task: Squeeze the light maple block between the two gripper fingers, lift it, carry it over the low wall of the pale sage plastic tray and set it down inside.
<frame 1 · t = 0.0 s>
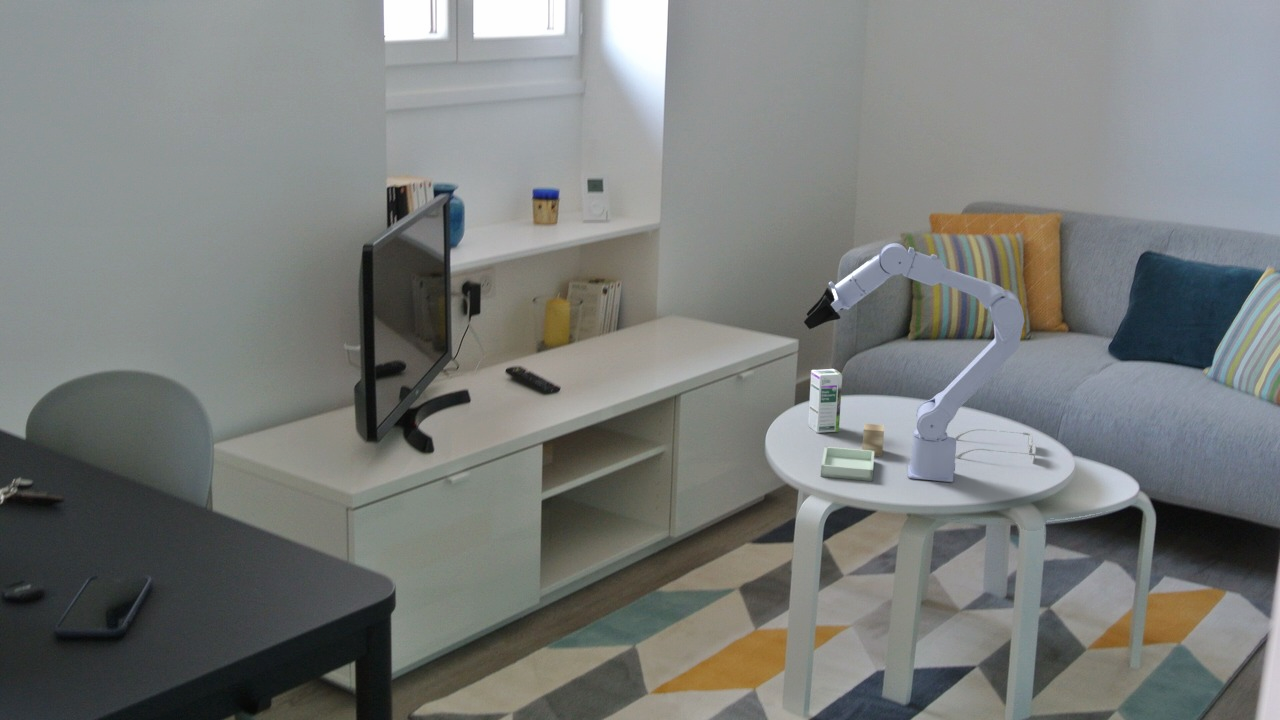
hand: (808, 321, 272), 32 cm above the table, tool tilted 50°, fingers open, 7 cm apart
eyeglasses: (991, 454, 292), on the table
maple block: (872, 452, 289), on the table
serving tray: (847, 468, 278), on the table
syrup box: (823, 430, 305), on the table
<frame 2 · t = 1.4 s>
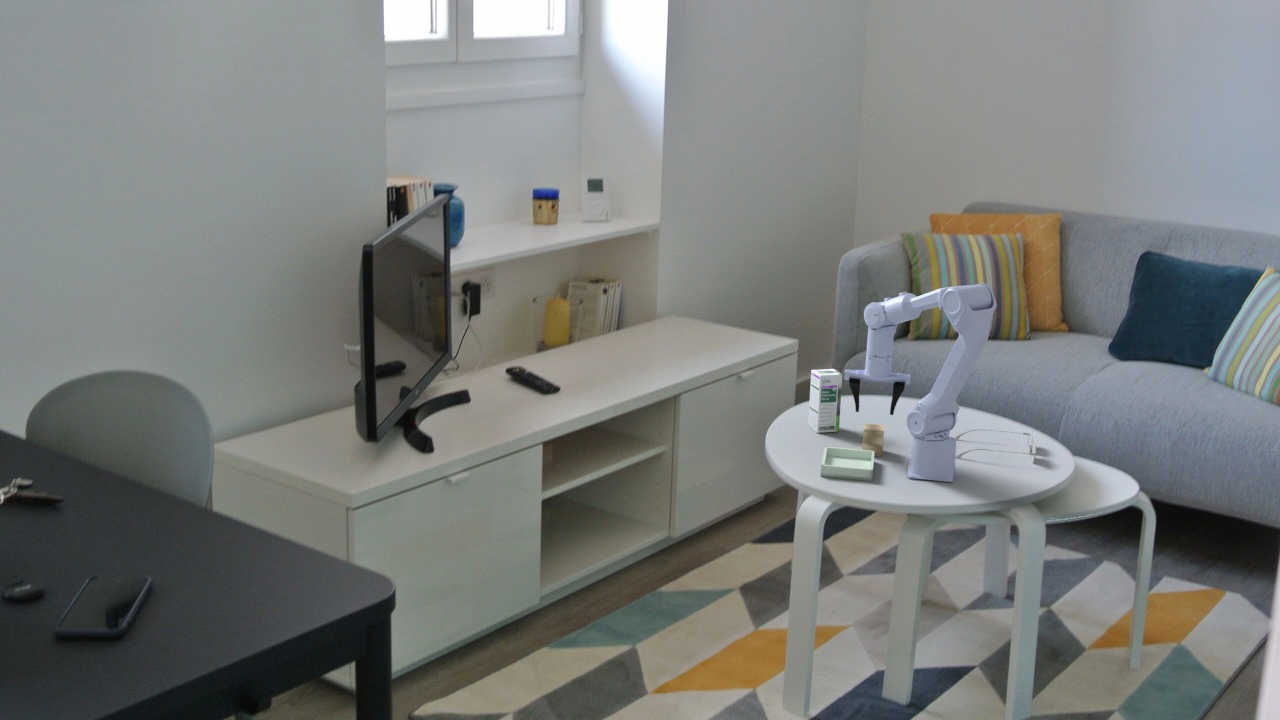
hand: (874, 412, 287), 10 cm above the table, tool pointing down, fingers open, 7 cm apart
nothing on the table moved.
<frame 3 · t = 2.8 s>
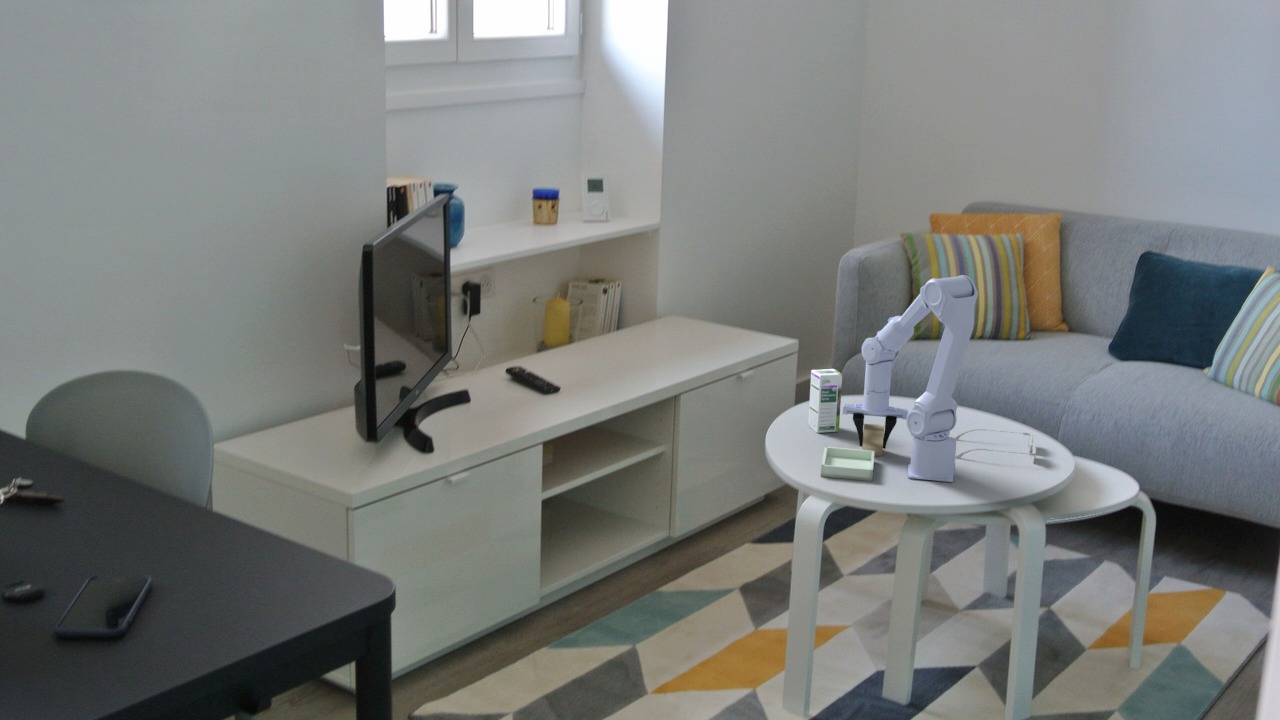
hand: (872, 446, 289), 1 cm above the table, tool pointing down, fingers closed on maple block, 4 cm apart
maple block: (872, 452, 289), on the table, touching gripper
everything else where it was.
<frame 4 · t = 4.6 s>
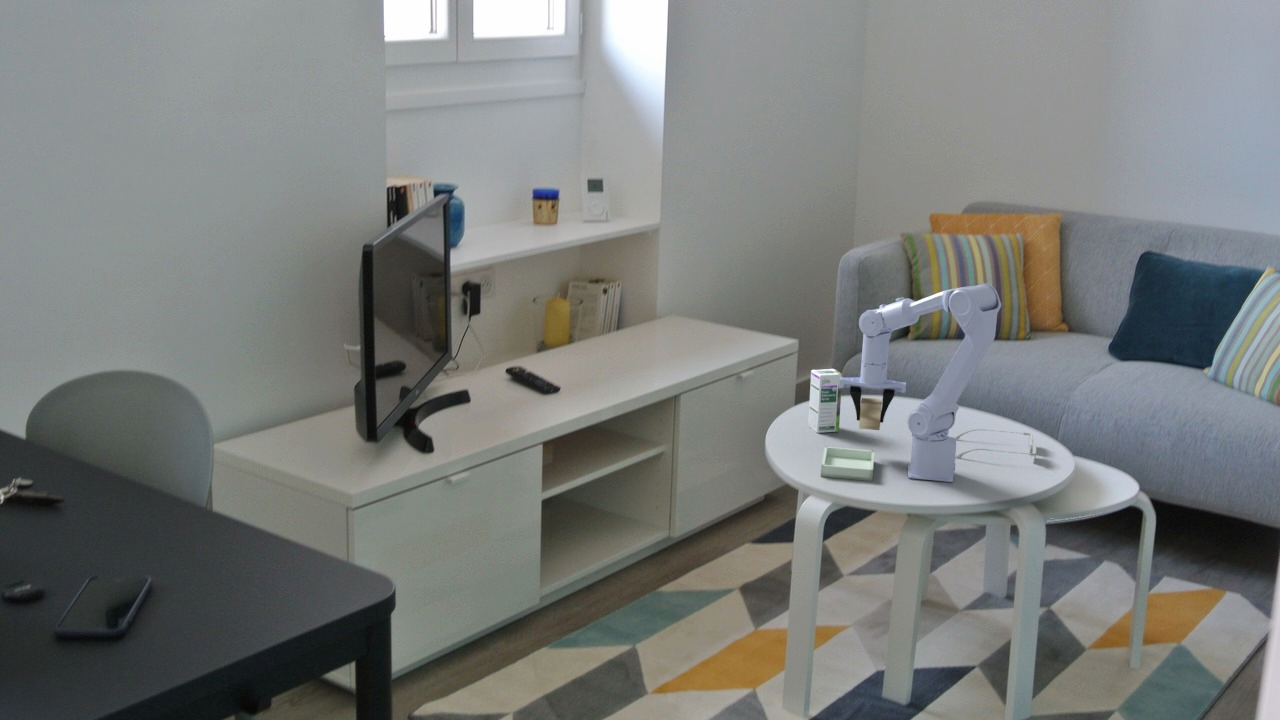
hand: (870, 420, 285), 8 cm above the table, tool pointing down, fingers closed on maple block, 4 cm apart
maple block: (869, 426, 285), point 7 cm above the table, touching gripper
everything else where it was.
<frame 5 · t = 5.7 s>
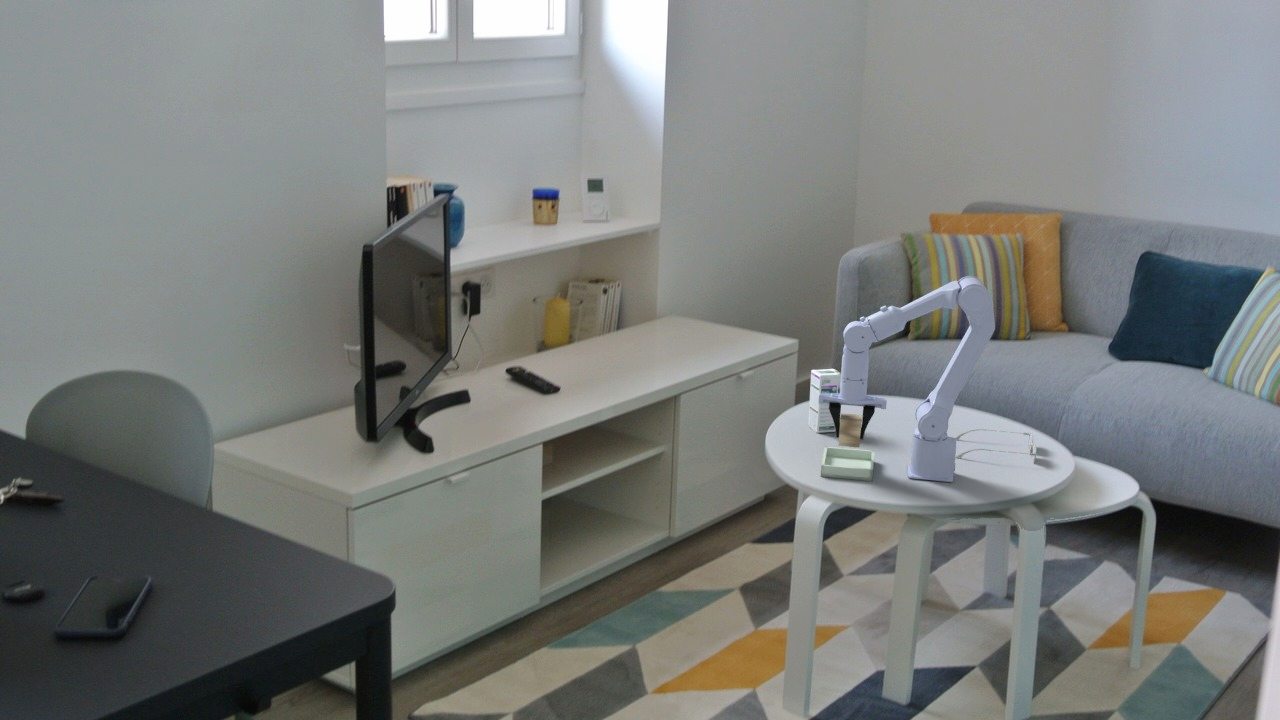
hand: (849, 437, 276), 7 cm above the table, tool pointing down, fingers closed on maple block, 4 cm apart
maple block: (849, 443, 276), point 6 cm above the table, touching gripper
everything else where it was.
when the fingers open (4 cm above the table, at t = 6.7 s): maple block drops 2 cm, resting on serving tray.
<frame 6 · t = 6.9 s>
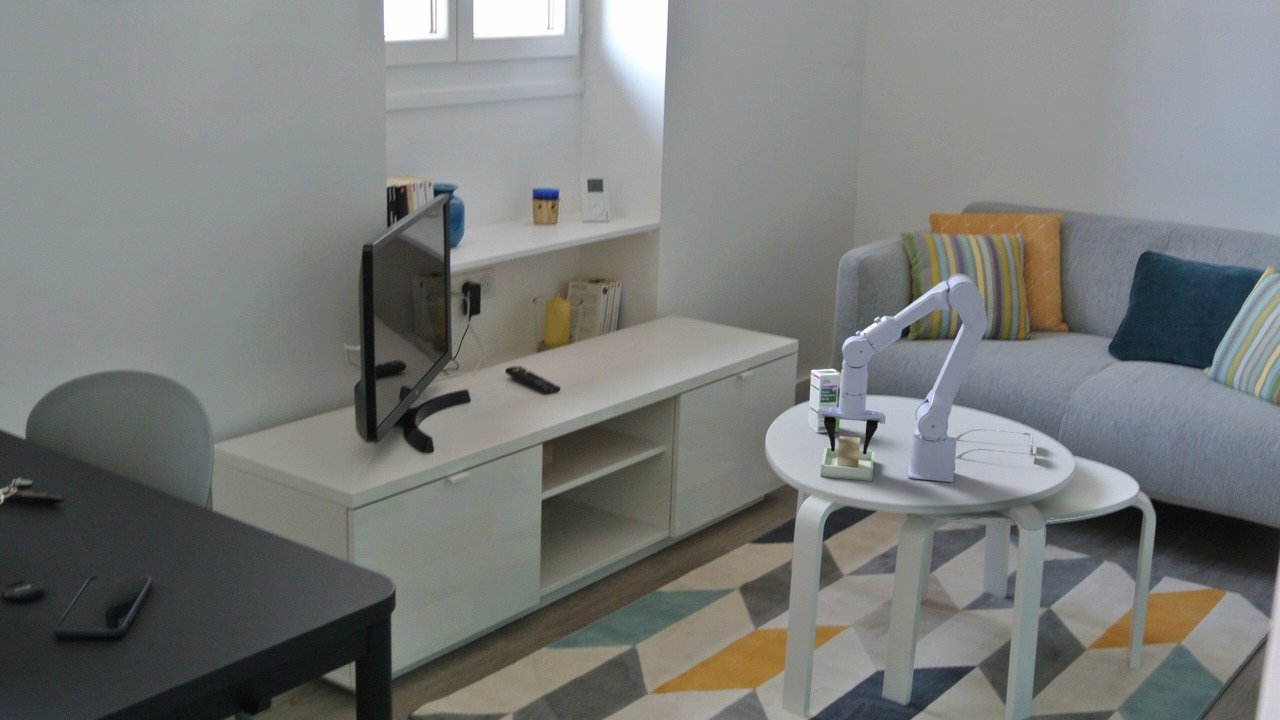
hand: (848, 451, 277), 4 cm above the table, tool pointing down, fingers open, 6 cm apart
maple block: (847, 465, 278), point 1 cm above the table, touching serving tray
everything else where it was.
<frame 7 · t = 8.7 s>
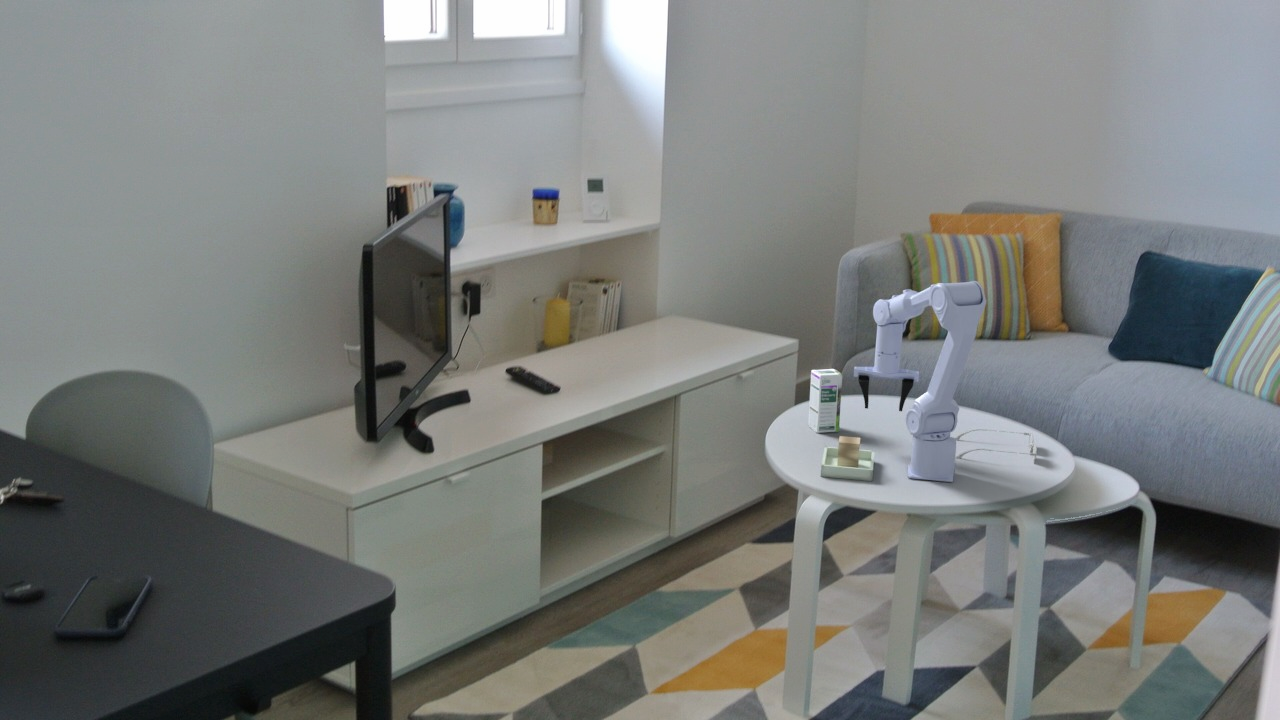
hand: (883, 408, 290), 9 cm above the table, tool pointing down, fingers open, 7 cm apart
nothing on the table moved.
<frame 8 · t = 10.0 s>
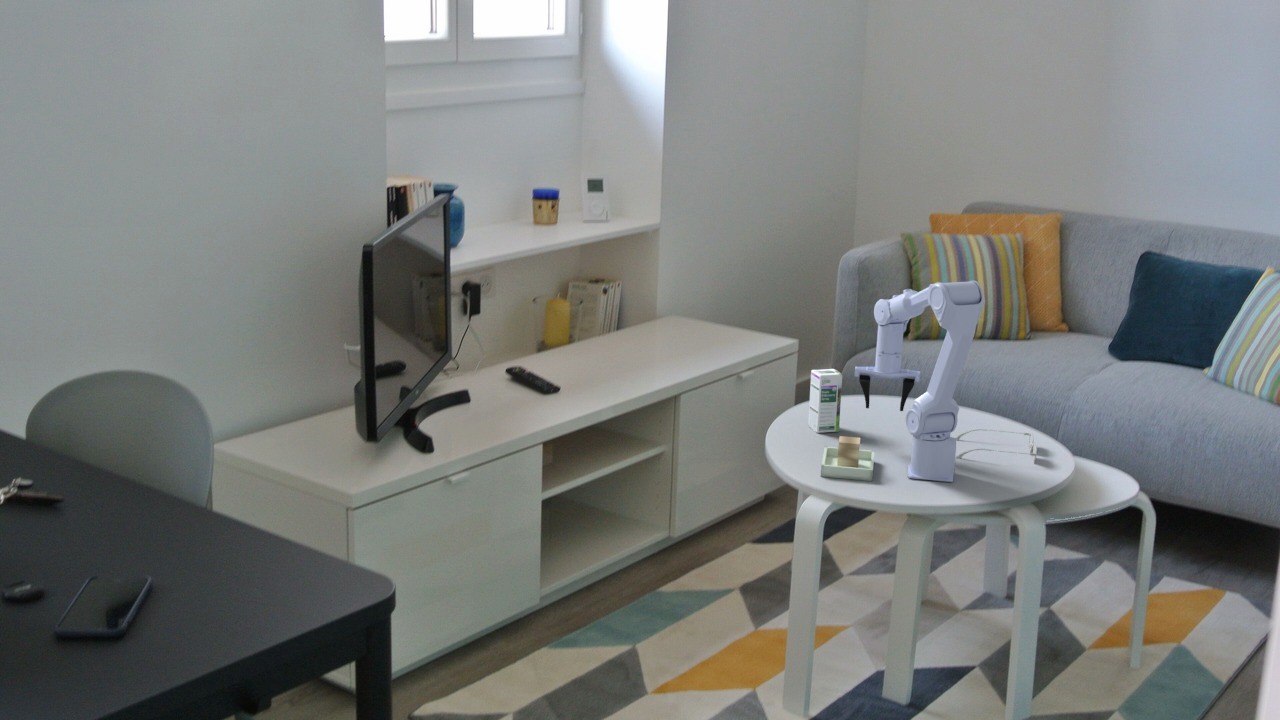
hand: (884, 408, 290), 9 cm above the table, tool pointing down, fingers open, 7 cm apart
nothing on the table moved.
at the end: maple block inside the target area on the serving tray (0.2 cm from its centre), point 0.6 cm above the serving tray's base; maple block tilted 0°; the gripper is holding nothing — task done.
